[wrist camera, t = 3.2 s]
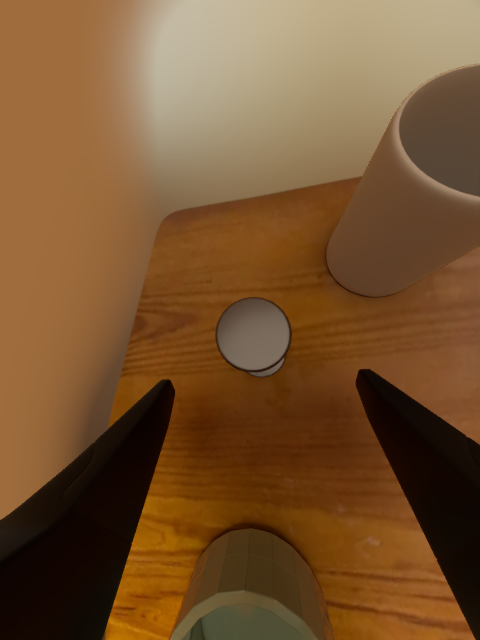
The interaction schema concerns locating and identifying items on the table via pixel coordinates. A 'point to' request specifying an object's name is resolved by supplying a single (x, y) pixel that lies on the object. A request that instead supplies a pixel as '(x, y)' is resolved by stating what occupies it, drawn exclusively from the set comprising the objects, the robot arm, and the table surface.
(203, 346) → the table surface
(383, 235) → the mug
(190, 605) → the bowl
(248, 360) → the muddler
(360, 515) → the table surface
